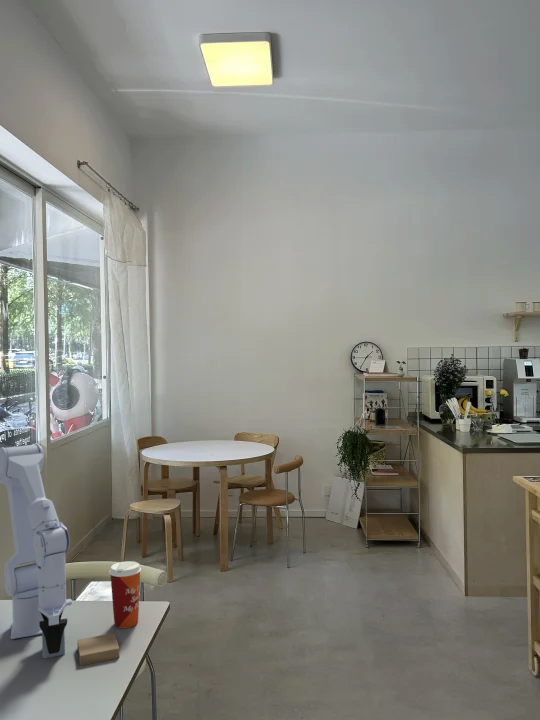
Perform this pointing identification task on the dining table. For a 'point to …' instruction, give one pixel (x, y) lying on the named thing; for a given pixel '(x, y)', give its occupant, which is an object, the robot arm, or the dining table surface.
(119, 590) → the paper cup
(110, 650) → the base
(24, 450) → the robot arm
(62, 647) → the block
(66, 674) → the dining table surface
